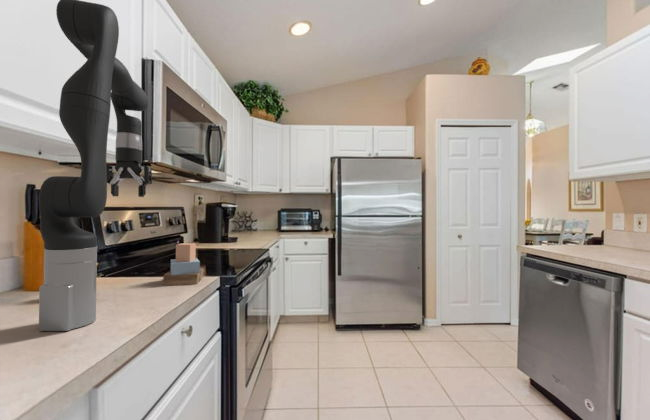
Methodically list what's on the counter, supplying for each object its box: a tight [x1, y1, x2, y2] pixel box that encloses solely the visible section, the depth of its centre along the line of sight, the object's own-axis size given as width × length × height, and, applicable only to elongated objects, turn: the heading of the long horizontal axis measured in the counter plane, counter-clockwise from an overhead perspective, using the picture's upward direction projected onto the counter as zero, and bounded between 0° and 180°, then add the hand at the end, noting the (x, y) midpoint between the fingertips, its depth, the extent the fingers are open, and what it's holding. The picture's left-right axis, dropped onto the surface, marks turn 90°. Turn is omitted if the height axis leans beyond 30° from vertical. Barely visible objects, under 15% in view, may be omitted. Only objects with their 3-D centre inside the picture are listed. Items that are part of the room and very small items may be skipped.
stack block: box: [175, 242, 197, 262], centre depth 112 cm, size 5×5×6 cm
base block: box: [162, 267, 205, 286], centre depth 112 cm, size 11×11×4 cm
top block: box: [170, 257, 201, 275], centre depth 111 cm, size 9×9×4 cm
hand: (128, 196), depth 103 cm, fingers open, 8 cm apart
